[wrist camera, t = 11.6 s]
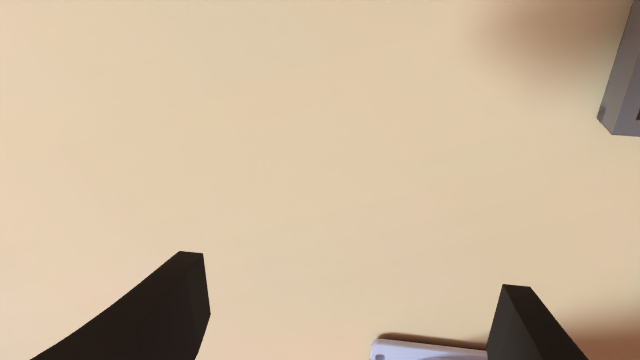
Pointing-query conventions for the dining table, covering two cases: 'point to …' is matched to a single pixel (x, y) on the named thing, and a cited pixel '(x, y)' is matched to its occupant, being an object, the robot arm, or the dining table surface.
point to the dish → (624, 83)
